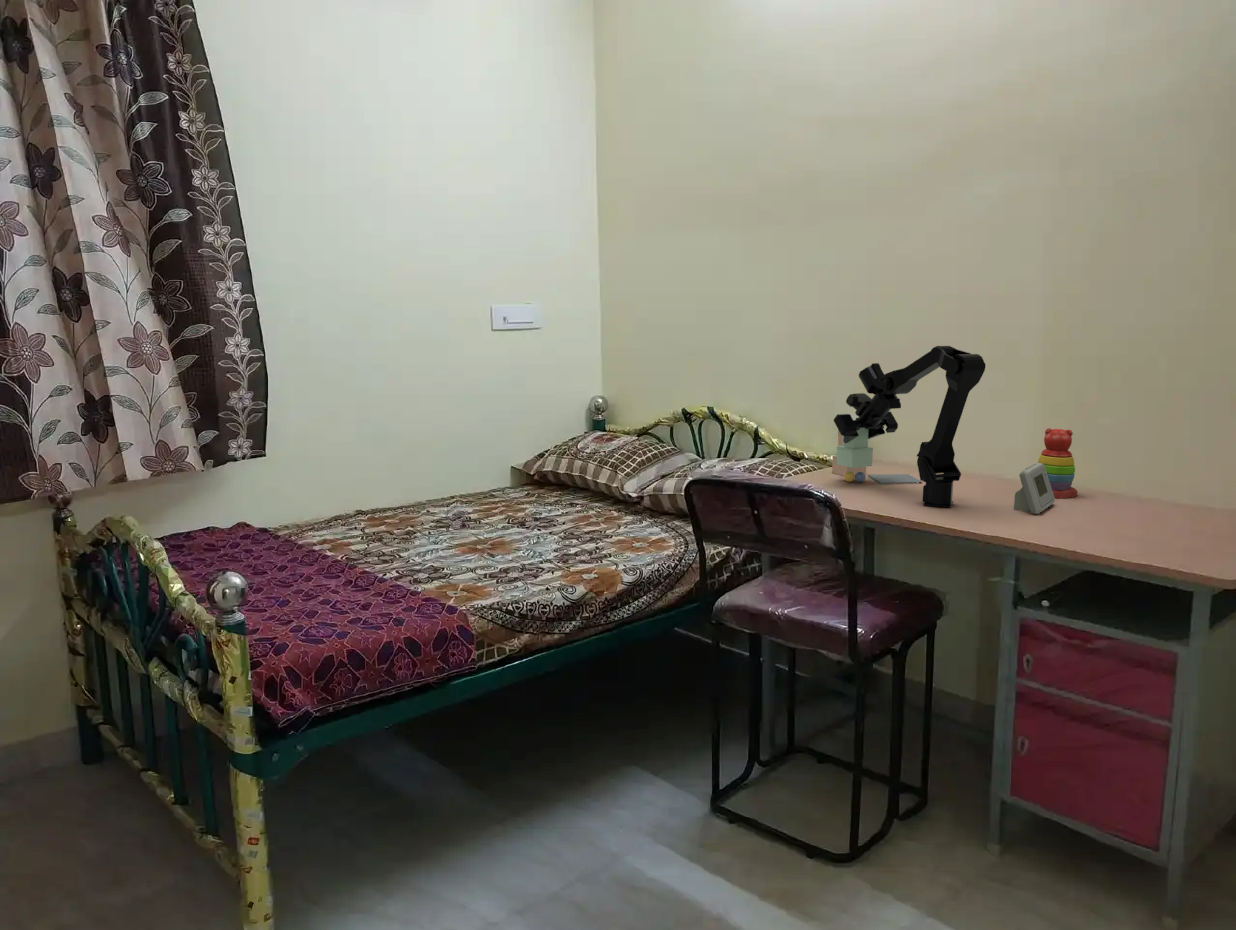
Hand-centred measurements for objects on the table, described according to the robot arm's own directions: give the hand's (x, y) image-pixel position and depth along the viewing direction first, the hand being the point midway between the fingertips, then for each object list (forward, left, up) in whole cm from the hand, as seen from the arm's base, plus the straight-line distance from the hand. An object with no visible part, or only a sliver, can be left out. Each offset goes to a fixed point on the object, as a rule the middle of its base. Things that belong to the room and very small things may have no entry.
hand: (852, 441), depth 267 cm
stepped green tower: (-1, +1, -7) cm, 7 cm away
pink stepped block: (+3, -11, -11) cm, 16 cm away
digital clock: (-50, +18, -12) cm, 54 cm away
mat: (-11, -7, -11) cm, 17 cm away
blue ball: (-3, +1, -11) cm, 12 cm away
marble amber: (+1, +1, -11) cm, 11 cm away
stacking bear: (-53, -3, -12) cm, 55 cm away
